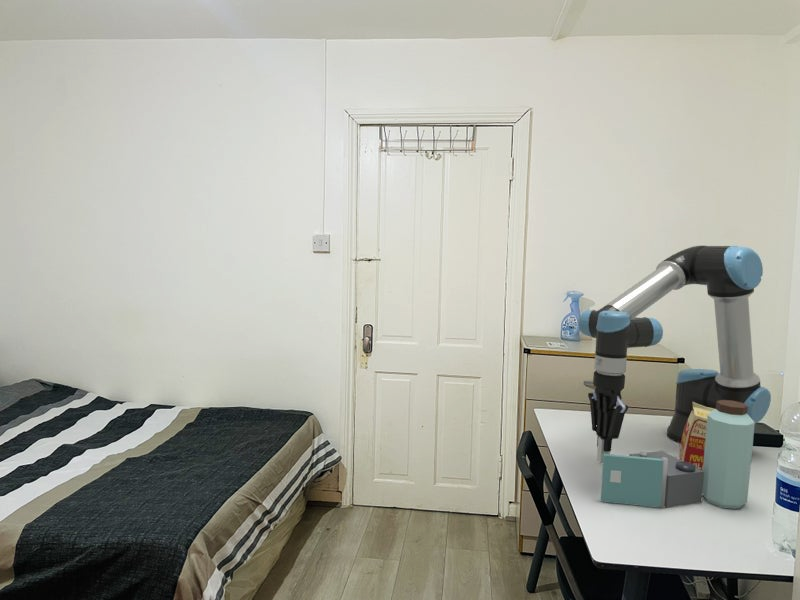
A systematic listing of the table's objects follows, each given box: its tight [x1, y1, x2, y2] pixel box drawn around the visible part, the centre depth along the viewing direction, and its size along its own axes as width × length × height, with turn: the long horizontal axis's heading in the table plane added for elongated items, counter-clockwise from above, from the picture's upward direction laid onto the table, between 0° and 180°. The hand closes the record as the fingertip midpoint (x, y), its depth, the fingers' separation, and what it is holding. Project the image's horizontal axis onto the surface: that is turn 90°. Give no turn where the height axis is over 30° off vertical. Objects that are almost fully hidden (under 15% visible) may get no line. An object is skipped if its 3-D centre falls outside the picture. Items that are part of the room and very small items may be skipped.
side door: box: [600, 453, 668, 509], centre depth 136 cm, size 15×2×12 cm, turn 79°
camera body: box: [628, 450, 704, 508], centre depth 143 cm, size 11×14×9 cm
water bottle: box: [702, 400, 756, 510], centre depth 138 cm, size 10×10×25 cm
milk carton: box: [678, 402, 714, 471], centre depth 156 cm, size 9×9×20 cm
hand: (602, 461), depth 144 cm, fingers closed
